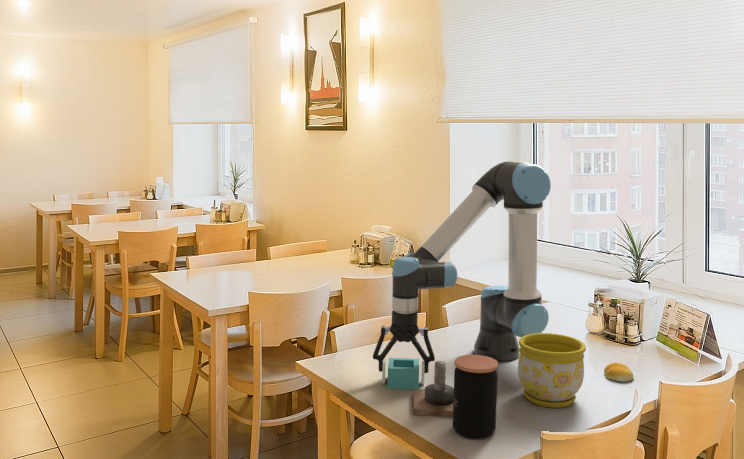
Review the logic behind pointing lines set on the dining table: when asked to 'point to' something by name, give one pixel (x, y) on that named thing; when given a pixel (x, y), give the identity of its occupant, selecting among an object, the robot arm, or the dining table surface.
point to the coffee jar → (475, 396)
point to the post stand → (435, 395)
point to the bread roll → (618, 372)
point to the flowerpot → (551, 368)
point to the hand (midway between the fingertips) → (403, 382)
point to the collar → (403, 373)
